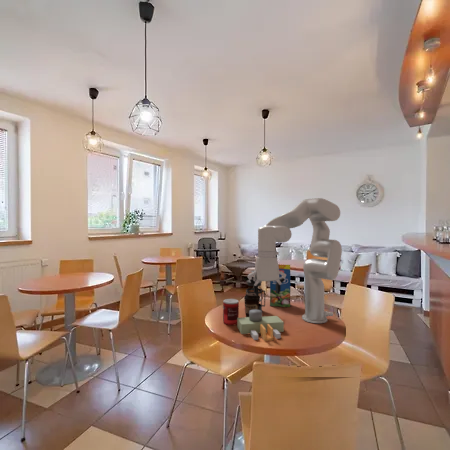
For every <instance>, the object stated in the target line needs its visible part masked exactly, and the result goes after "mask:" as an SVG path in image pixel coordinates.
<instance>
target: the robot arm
mask: <svg viewBox="0 0 450 450" xmlns="http://www.w3.org/2000/svg"><path fill="white" fill-rule="evenodd" d="M340 217H341V210H340V207H339V206H338V205H337V204H336V203H333V202H331V201H330V200H329V199H325V198H323V197H320V198H319V197H318V198H307V199H303V200H301V201H300V202H299V203H298V204H296V205H295V206H294V207H293V208H292V209H291V210H290V211H288V212H286V213H283V214H281V215H279V216H277V217H275V218H273V219H271V220H270V221H268V222H266V224H264V226H260V227H258V229H257V247H258V249H257V257H256V258H255V263H254V270H255V271H254V272H250V273H249V274H247V278H248V280H250V282H251V283H252V284H253V285H254V287H253V288H254V290H253V292H254V293H255V294H256V295H258V288H259V286H257V284H258V283H259V282H260V281H262V282H270V281H276V282H277V283H276V293H277V294H280V285H281V284H282V282H283V281H284V279H285V277H286V274H285V273H283V272H281V271H279V266H278V265H279V262H278V261H279V260H278V257H277V256H279V254H280V253H279V251H276V243H281V244H282V243H286V242H289V241H290V240H291V238H292V235H293V234H292V230H291V229H295V228H297V227H300V226H301V225H303V224H304V223H305V222H306V221H307V220H309V221H310V223H311V225H312V235H311V241H310V248H309V252H310V255H312V256H314V257H317V258H308V259H306V260H305V261H304V263H303V274H304V284H305V285H304V286H305V287H304V294H305V295H304V314H302V315H301V319H302V320H303V321H305V322H308V323H312V324H325V323H327V322H328V317H333V316H334V312H332V311H331V312H330V311H327V310H326V311H325V284H324V281H323V280H329V281H333V280H335V279H336V278H338V275H339V271H340V265H341V259H342V253H343V250H342V249H343V248H342V244H341V242H340V241H338V240H336V239H330V235H331V234H330V233H331V231H330V230H331V229H330V227H329V226H328V224H327V223H326V222H335V221H337V220H339V219H340ZM320 258H326V259H320ZM279 274H281V275H282V277H281V278H280V279H279ZM253 277H254V279H253ZM253 280H254V281H253Z"/></svg>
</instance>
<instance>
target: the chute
mask: <svg viewBox="0 0 450 450" xmlns="http://www.w3.org/2000/svg"><path fill="white" fill-rule="evenodd" d="M259 335H260V337H261V339H262V340H263V342H267V341H268V342H269V341H274V335H273V328H272V327H271V326H270V325H269V324H267V333H266V329H265V328H264V326H263V325H262V324H260V333H259Z"/></svg>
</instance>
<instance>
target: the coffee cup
mask: <svg viewBox="0 0 450 450" xmlns="http://www.w3.org/2000/svg"><path fill="white" fill-rule="evenodd" d="M243 299H244V310H245V311H244V312H245V317H249V311H250V310H253V309H257V310H259V304H260V302H259V300H260V299H261V295H260V294H258V295H256V294H255V293H246V292H245V295H244V298H243Z"/></svg>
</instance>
